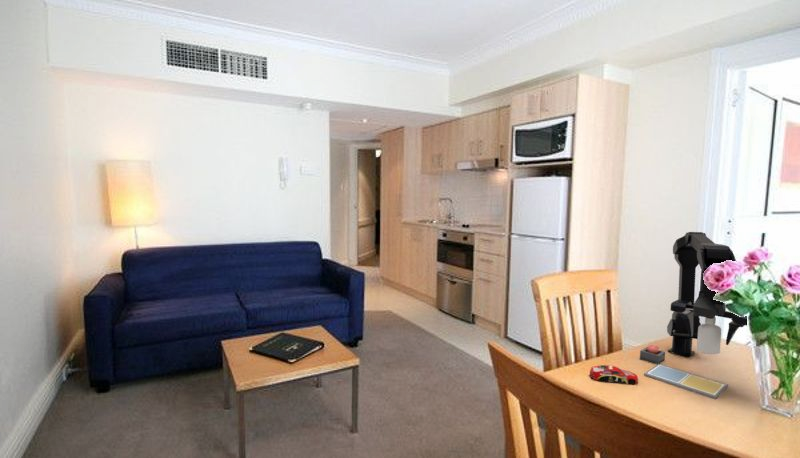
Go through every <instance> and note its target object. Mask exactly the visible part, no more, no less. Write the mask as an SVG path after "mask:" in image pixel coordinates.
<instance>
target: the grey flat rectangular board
mask: <svg viewBox="0 0 800 458" xmlns="http://www.w3.org/2000/svg"><path fill="white" fill-rule="evenodd" d="M643 376H644V377H648V378H650V379H652V380H656V381H659V382H662V383H664V384H668V385H671V386H674V387H678V388H680V389H684V390H686V391H689V392H693V393H695V394H698V395H702V396H704V397H707V398H711V399H714V400H716V399H718V398H719V397H720V396H721V394H723V392H724V391H725V390H726V389H727V388H728V387H729V384H727V383H724V382H721V381H718V380H715V379H712V378H708V377H705V376H701V375H698V374H694V373H692V372H690V371H688V372H687V371H684V370H682V369H678V368H675V367H673V366H672V367H671V366H668V365H665V364H663V363H660V364H655V366H652V368H650V369H649V370H647V371H646V372H645V373H643Z"/></svg>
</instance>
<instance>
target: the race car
mask: <svg viewBox="0 0 800 458" xmlns="http://www.w3.org/2000/svg"><path fill="white" fill-rule="evenodd" d="M589 375H590V377H591V378H592V379H593V380H595V381H599V382H600V383H615V384H617V383H618V384H628V385H636V384H638V382H639V377H638V375H637V374H636V373H635V372H631V370H630V371H629V370H625V369H621V368H619V367H617V366H616V365H615V366H614V365H610V364H607V365H606V364H604V365H596V366H592V367H590V370H589Z"/></svg>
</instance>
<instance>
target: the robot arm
mask: <svg viewBox="0 0 800 458" xmlns="http://www.w3.org/2000/svg"><path fill="white" fill-rule="evenodd" d="M672 254H673V256H674V258H673V259H674V260H675V262H676V263H677V265H678V267H679V273H678V295H677V296H678V298H677V299H676V300H674V301H672V302H671V303H670V310H669V311H671V312H673V313H672V314H671V319H670V320H669V321H668V324H667V326H666V332H667V334H668V335H669V336H670V337H672V342H671V343H672V344H671V347H670V348H669V349H668V350H667V352H668V353H670V354H675V355H679V356H683V357H685V358H691V357H692V356H693V355H695V354H696V351H694V350H692V349H693V339H694V340H697V338H698V327H699V326H700V325H702V323H701V322H700V321H701V320H700V318H701V317H702V318H705V317H706V318H708V319H713V318H715V317H719V318H720V317H721V318H726V319H731V321H730V322H729V323H728V330H727V335H726V338H725V339H726V340H725V345H726V346H729V345H730V343H731V341H732V340H733V337H734V336H735V334H736V332H737V331H738V330H739V328H743V327H745V326H747V316H745V317H739V316H737V315H735V314H733V313H731V312H732V311H728V310H727V309H726V307H727V306H726V303H725V302H724V303H723V302H720V301H716V300H713V297H714V296H715V294H716V292H715V291H711V290H709V289H708V288H707V286H706V285H705V284H704V280H703V273H704V271H705V270H706V269H707V268H708V267H709V266H710V265H712V264H713V263H721V262H724V261H726V260H732V261H736V262H737V260H736V256H735V254H734V252H733V250H732V249H731V248H730V246H729V245H726V244H722V243H721V244H720V243H716V242H714V241H713V240H712V239H710V237H708V236H707V235H706V233H705V232H702V231H701V232H700V231H689V232H686V233H685V234H684V235H683V236H681V237H679V238H677V239H676V240H675V242H674V243H673V246H672ZM698 266H699V267H700V269H701V271H700V280H699V281H700V282H699V284H700V285H699V291H698V297H697V298H696V300H695V296H696V294H695V291H696V290H695V289H696V271H697V270H696V268H697V267H698ZM717 293H718V292H717ZM725 306H726V307H725Z"/></svg>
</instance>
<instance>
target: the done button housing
mask: <svg viewBox="0 0 800 458" xmlns="http://www.w3.org/2000/svg"><path fill="white" fill-rule="evenodd" d="M639 360H641V361H644V362H647V361H648V362H647V363H650V362H651V364H654V365H657V364H663V362H665V360H666V351H663V350H660V349H659V350H658V354H653V353H649V352H647V346H646V347H644V348H643V349H641V350H640V351H639Z"/></svg>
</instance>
